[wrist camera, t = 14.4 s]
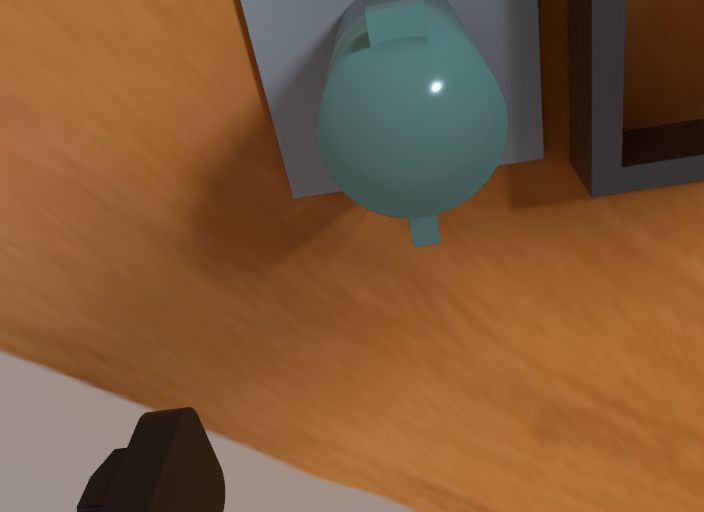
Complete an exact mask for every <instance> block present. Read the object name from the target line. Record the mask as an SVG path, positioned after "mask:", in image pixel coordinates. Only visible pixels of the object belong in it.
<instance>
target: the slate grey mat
mask: <svg viewBox="0 0 704 512" xmlns="http://www.w3.org/2000/svg"><path fill="white" fill-rule="evenodd" d="M240 1H241V4H242V8H243V12H244V16H245V20H246V23H247V27H248V31H249V35H250V38H251V42H252V46H253V50H254V53H255V57H256V61H257V65H258V68H259V72H260V76H261V80H262V83H263V87H264V91H265V95H266V99H267V102H268V106H269V110H270V114H271V117H272V121H273V125H274V129H275V132H276V136H277V140H278V144H279V147H280V151H281V155H282V159H283V162H284V166H285V170H286V174H287V178H288V181H289V185H290V189H291V193H292V196H293V199H297V198H303V197H309V196H315V195H321V194H328V193H334V192H340V191H341V190H340V189H339V187H338V186H337V185H336V184H335V183H334V181H333V180H332V178H331V177H330V175H329V173H328V172H327V170H326V168H325V165H324V163H323V161H322V158H321V154H320V151H319V146H318V139H317V123H318V115H319V110H320V105H321V100H322V96H323V91H324V86H325V81H326V77H327V72H328V67H329V62H330V57H331V53H332V48H333V43H334V38H335V34H336V30H337V27H338V25H339V22H340V20H341V18H342V16H343V15H344V13H345V11H346V10H347V9H348V7H349V6H350V5H351V4H352V3H353V2H354V1H355V0H240ZM447 1H448V2H449V3H450V5H451V6H452V7H453V9H454V10H455V12H456V13H457V15H458V17H459V18H460V20H461V22H462V23H463V25H464V27H465V29H466V30H467V32H468V34H469V35H470V37H471V39H472V41H473V42H474V44H475V46H476V47H477V49H478V51H479V52H480V54H481V56H482V58H483V59H484V61H485V63H486V64H487V66H488V68H489V70H490V71H491V73H492V75H493V76H494V78H495V80H496V81H497V83H498V85H499V87H500V90H501V92H502V94H503V97H504V101H505V105H506V110H507V118H508V131H507V138H506V144H505V147H504V151H503V154H502V156H501V159H500V161H499V163H498V165H497V166H501V165H507V164H513V163H519V162H526V161H532V160H538V159H544V147H543V121H542V96H541V71H540V46H539V21H538V0H447Z"/></svg>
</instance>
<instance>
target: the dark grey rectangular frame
mask: <svg viewBox="0 0 704 512" xmlns="http://www.w3.org/2000/svg"><path fill="white" fill-rule="evenodd" d="M625 23H626V0H568V40H569V100H570V159H571V166H572V167H573V169H574V170H575V172H576V173H577V175H578V177H579V178H580V180H581V181H582V183H583V184H584V186H585V188H586V189H587V191H588V192H589V194H590V195H591V197H599V196H605V195H612V194H618V193H625V192H631V191H638V190H644V189H651V188H657V187H664V186H671V185H677V184H684V183H690V182H697V181H703V180H704V119H699V120H693V121H687V122H681V123H675V124H669V125H662V126H656V127H650V128H644V129H638V130H632V131H626V132H622V131H623V95H624V59H625Z"/></svg>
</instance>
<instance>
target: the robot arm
mask: <svg viewBox="0 0 704 512" xmlns="http://www.w3.org/2000/svg"><path fill="white" fill-rule="evenodd" d="M224 504H225V482H224V477H223V472H222V469H221V466H220V464H219V462H218V459H217V457H216V455H215V453H214V450H213V448H212V446H211V444H210V441H209V439H208V437H207V434H206V432H205V430H204V428H203V425H202V423H201V421H200V419H199V416H198V414H197V413H196V411H195V410H194V409H193V408H191V407H186V408H178V409H170V410H162V411H154V412H147V413H145V414H143V415H142V416H141V418H140V419H139V421H138V423H137V425H136V428H135V430H134V433H133V435H132V437H131V440H130V442H129V445H128V447H127V448H121V449H115V450H114V451H113V452H112V453H111V454H110V455H109V456H108V458H107V459H106V460H105V461H104V462H103V463H102V464H101V466H100V467H99V468H98V469H97V470H96V471H95V473H94V474H93V475H92V476H91V477H90V479H89V482H88V484H87V486H86V488H85V490H84V492H83V495H82V497H81V499H80V501H79V503H78V505H77V512H223V510H224Z"/></svg>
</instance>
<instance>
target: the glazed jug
mask: <svg viewBox="0 0 704 512" xmlns="http://www.w3.org/2000/svg"><path fill="white" fill-rule="evenodd" d="M507 131H508V118H507V110H506V105H505V101H504V97H503V94H502V92H501V90H500V87H499V85H498V83H497V81H496V80H495V78H494V76H493V75H492V73H491V71H490V70H489V68H488V66H487V64H486V63H485V61H484V59H483V58H482V56H481V54H480V52H479V51H478V49H477V47H476V46H475V44H474V42H473V41H472V39H471V37H470V35H469V34H468V32H467V30H466V29H465V27H464V25H463V23H462V22H461V20H460V18H459V17H458V15H457V13H456V12H455V10H454V9H453V7H452V6H451V5H450V3H449V2H448V1H447V0H355V1H354V2H353V3H352V4H351V5H350V6H349V7H348V9H347V10H346V11H345V13H344V15H343V16H342V18H341V20H340V22H339V25H338V27H337V30H336V34H335V38H334V43H333V48H332V53H331V57H330V62H329V67H328V72H327V77H326V81H325V86H324V91H323V96H322V100H321V105H320V110H319V115H318V123H317V139H318V146H319V151H320V154H321V158H322V161H323V163H324V165H325V168H326V170H327V172H328V173H329V175H330V177H331V178H332V180H333V181H334V183H335V184H336V185H337V186H338V187H339V189H340V190H341V191H342V192H343V193H344V194H346V195H347V196H348V197H349V198H350V199H352V200H353V201H354V202H356V203H357V204H359V205H361V206H362V207H364V208H366V209H368V210H371V211H373V212H375V213H378V214H382V215H385V216H390V217H396V218H409V225H410V232H411V238H412V245H413V247H418V246H425V245H432V244H439V243H440V235H439V227H438V219H437V214H439V213H442V212H445V211H448V210H450V209H452V208H454V207H456V206H458V205H460V204H461V203H463V202H465V201H466V200H468V199H469V198H470V197H471V196H473V195H474V194H475V193H476V192H477V191H478V190H479V189H480V188H481V187H482V186H483V185H484V184H485V183H486V182H487V180H488V179H489V178H490V177H491V175H492V174H493V172H494V170H495V169H496V167H497V165H498V163H499V161H500V159H501V156H502V154H503V151H504V147H505V144H506V138H507Z"/></svg>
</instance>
